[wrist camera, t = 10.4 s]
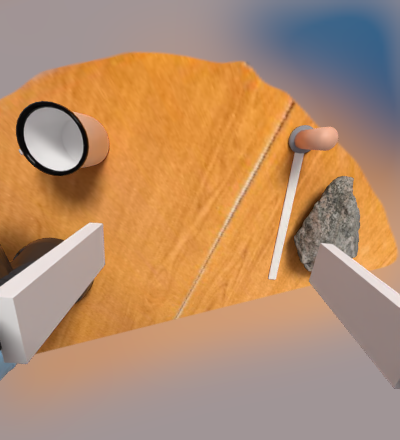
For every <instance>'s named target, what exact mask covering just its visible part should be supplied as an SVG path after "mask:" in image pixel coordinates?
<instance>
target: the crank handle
mask: <svg viewBox="0 0 400 440" xmlns="http://www.w3.org/2000/svg"><path fill="white" fill-rule="evenodd" d="M337 141H338V133H337V131H336V130H335V129H334V128H333V127H323V128H316V129H313V128H312V127H310V126H307V125H304V126H299V127H297V128H296V129H294V130H293V131H292V133H291V134H290V137H289V146H290V148H291V150H292V151H294V152H295V153H294V158H293V163H292V167H291V172H290V177H289V182H288V186H287V191H286V196H285V201H284V205H283V210H282V215H281V220H280V224H279V229H278V234H277V239H276V243H275V248H274V253H273V258H272V262H271V267H270V272H269V277H268V279H275V280H276V276H277V271H278V267H279V262H280V258H281V254H282V249H283V245H284V240H285V236H286V231H287V227H288V222H289V218H290V214H291V209H292V205H293V200H294V196H295V191H296V187H297V182H298V178H299V173H300V169H301V165H302V160H303V156H304V153H306V152H308V151H310V150H329V149H331V148H333V147H334V146H335V145H336V143H337Z"/></svg>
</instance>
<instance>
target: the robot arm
mask: <svg viewBox="0 0 400 440" xmlns="http://www.w3.org/2000/svg"><path fill="white" fill-rule="evenodd" d="M104 265H105V255H104V235H103V224H101V223H88V224H87V225H86V226H84V227H83V228H81V229H80V230H79V231H77V232H76V233H74V234H73V235H72V236H70V237H69V238H67V239H66V240H65V241H64V240H61V239H56V238H42V239H38V240H36V241H33V242H32V243H30V244H28V245H27V246H25V247H23V248H22V249H21V250H20V251H19V252H18V253H17V254H16V256H15V257H14V259H13V261H12V262H11V263H10V262H9V260H8V259H7V257H6V255H5V253H4V251H3V249H2V247H1V245H0V380H1V379H2V378H3V377H4V376H5V375H6V374H7V373H8V372H9V371H10V370H11V369H13V368H14V367H15V365H16V364H17V363H19V364H28V362H29V361H30V360H31V358H32V357H33V356H34V355H35V353H36V352H37V351H38V350H39V348H40V347H41V346H42V344H43V343H44V342H45V341H46V339H47V338H48V337H49V336H50V334H51V333H52V332H53V330H54V329H55V328H56V327H57V325H58V324H59V323H60V321H61V320H62V319H63V318H64V316H65V315H66V314H67V313H68V311H69V310H70V309H71V307H72V306H73V305H74V304H75V303H77V302H78V301H80V300H81V299H82V298H83V297H84V296H85V295H86V293H87V292H88V291H89V289H90V288H91V286H92V283H93V279H94V278H95V277H96V275H97V274H98V273H99V272H100V270H101V269H102V268H103V266H104ZM309 282H310V284H311V285H312V286H313V287H314V289H315V290H316V291H317V292H318V294H319V295H320V296H321V297H322V299H323V300H324V301H325V302H326V304H327V305H328V306H329V307H330V309H331V310H332V311H333V312H334V314H335V315H336V316H337V317H338V319H339V320H340V321H341V323H342V324H343V325H344V326H345V328H346V329H347V330H348V331H349V333H350V334H351V335H352V336H353V338H354V339H355V340H356V341H357V342H358V344H359V345H360V346H361V348H362V349H363V350H364V351H365V353H366V354H367V355H368V356H369V358H370V359H371V360H372V361H373V363H374V364H375V365H376V367H377V368H378V369H379V370H380V372H381V373H382V374H383V375H384V377H385V378H386V379H387V380H388V382H389V383H390V384H391V385H392V387H393V388H394V389H400V294H398V293H397V292H396V291H394V290H393V289H392V288H390V287H389V286H388V285H386V284H385V283H384V282H382V281H381V280H380V279H378V278H377V277H376V276H374V275H373V274H372V273H370V272H369V271H368V270H366V269H365V268H364V267H363V266H361V265H360V264H359V263H357V262H356V261H355V260H353V259H352V258H351V257H349V256H348V255H347V254H345V253H344V252H343V251H341V250H340V249H339V248H337V247H336V246H335V245H333V244H326V243H320V246H319V249H318V253H317V256H316V259H315V263H314V266H313V269H312V273H311V276H310V279H309Z"/></svg>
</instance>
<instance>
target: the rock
mask: <svg viewBox="0 0 400 440" xmlns="http://www.w3.org/2000/svg"><path fill="white" fill-rule="evenodd" d="M353 180H354V179H353V178H352V177H347V176H341V177H338V178H336V179H335V180H333V181H332V182H331V183H330V185H328V186H327V187H326V189H325V191H324V193H323V194H322V197H321V199H320V200H319V201H317V202H316V203H315V205H314V207H313V210H312V211H311V212H310V214H309V216H308V217H307V218H306V219H305V220H304V222H303V226H302V227H301V228H300V230H299V231H298V232H297V234H296V235H295V236H294V241H295V245H296V248H297V250H298V252H297V253H298V255H299V257H300V261H301V262H302V263H303V264H304V267H305V268H306V269H307V270H308V271H312V269H313V266H314V263H315V259H316V256H317V253H318V249H319V246H320V243H326V244H333V245H335V246H336V247H337V248H339V249H340V250H341V251H343V252H344V253H345V254H347V255H348V256H349V257H351V258H353V257H356V256H357V252H358V242H359V234H358V230H359V228H360V222H359V221H360V213H359V209H358V208H357V202H356V198H355V197H354V196H353V189H352V188H353Z"/></svg>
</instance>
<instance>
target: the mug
mask: <svg viewBox="0 0 400 440" xmlns="http://www.w3.org/2000/svg"><path fill="white" fill-rule="evenodd" d="M16 136H17V141H18V144H19V147H20V149H19V152H20V154H21V155H24V156H25V157H26V159H27V160H28V161H29V162H30V163H31V164H32V165H33V166H34V167H36V168H37V169H39V170H40V171H42V172H44V173H47V174H50V175H54V176H64V175H70V174H72V173H75V172H76V171H78V170H79V169H80V168H84V167H89V166H94V165H97V164H99V163H100V162H102V161H103V160H104V159H105V157H106V156H107V154H108V151H109V139H108V135H107V133H106V130H105V129H104V127H103V126H102V125H101V124H100V122H99V121H97V120H96V119H95V118H93V117H91V116H88V115H85V114H80V113H76V112H72V111H70V110H69V109H68V108H66V107H64V106H62V105H60V104H57V103H54V102H47V101H40V102H35V103H33V104H30V105H29V106H27V107H26V108H25V109H24V110H23V111H22V112H21V114H20V116H19V118H18V120H17V125H16Z"/></svg>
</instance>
